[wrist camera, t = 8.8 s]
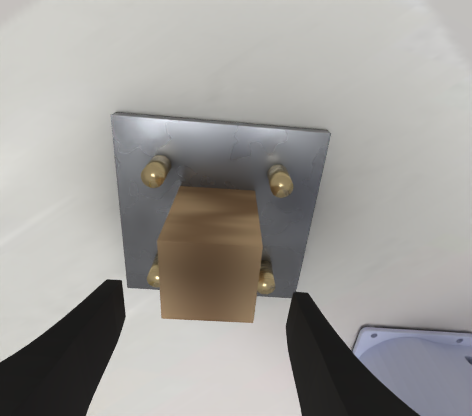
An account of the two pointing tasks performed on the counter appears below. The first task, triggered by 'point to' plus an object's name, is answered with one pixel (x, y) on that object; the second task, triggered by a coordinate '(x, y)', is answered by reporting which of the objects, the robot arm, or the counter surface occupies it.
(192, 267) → the oak block
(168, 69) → the counter surface
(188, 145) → the plate
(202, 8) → the counter surface
